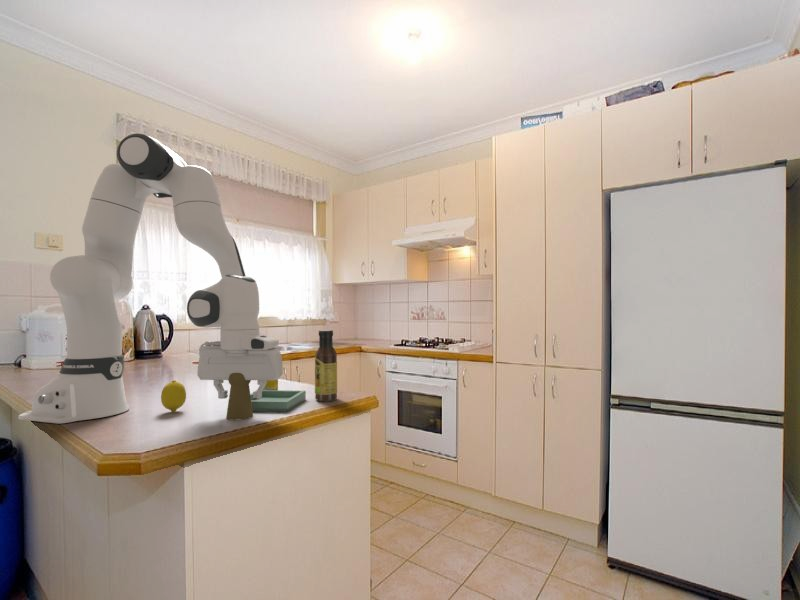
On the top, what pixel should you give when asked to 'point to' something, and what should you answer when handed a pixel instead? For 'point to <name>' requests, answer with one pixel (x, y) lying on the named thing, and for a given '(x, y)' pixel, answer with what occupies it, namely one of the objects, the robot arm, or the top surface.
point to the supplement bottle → (271, 385)
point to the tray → (277, 400)
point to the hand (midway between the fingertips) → (240, 398)
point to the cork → (239, 398)
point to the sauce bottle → (326, 368)
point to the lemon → (173, 396)
